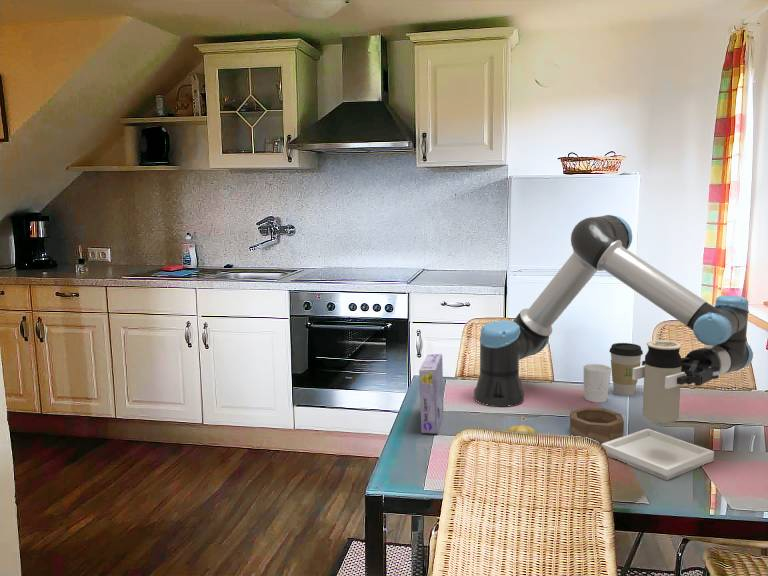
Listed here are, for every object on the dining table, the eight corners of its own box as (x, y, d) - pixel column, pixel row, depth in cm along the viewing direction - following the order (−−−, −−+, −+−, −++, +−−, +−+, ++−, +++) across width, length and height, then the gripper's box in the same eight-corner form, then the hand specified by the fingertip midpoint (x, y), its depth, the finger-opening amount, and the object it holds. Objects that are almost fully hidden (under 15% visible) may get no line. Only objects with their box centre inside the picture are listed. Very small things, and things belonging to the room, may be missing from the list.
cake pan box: (427, 410, 196) (427, 351, 193) (444, 411, 195) (445, 352, 192) (418, 434, 178) (418, 370, 175) (437, 435, 177) (437, 370, 174)
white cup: (580, 394, 208) (581, 363, 207) (606, 395, 207) (608, 364, 206) (584, 402, 201) (585, 370, 199) (611, 403, 200) (613, 371, 198)
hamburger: (504, 473, 153) (504, 423, 151) (503, 460, 160) (504, 412, 158) (538, 475, 152) (539, 425, 150) (536, 462, 159) (538, 414, 157)
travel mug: (686, 421, 157) (690, 346, 154) (657, 425, 154) (661, 349, 152) (663, 410, 164) (666, 338, 161) (635, 414, 162) (638, 341, 159)
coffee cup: (643, 398, 204) (645, 350, 202) (609, 396, 206) (611, 349, 204) (638, 388, 213) (640, 342, 211) (605, 387, 215) (607, 341, 213)
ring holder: (559, 432, 178) (560, 414, 177) (592, 422, 185) (593, 404, 184) (599, 447, 167) (600, 428, 166) (632, 436, 174) (633, 418, 173)
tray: (600, 453, 164) (601, 443, 163) (647, 437, 173) (647, 428, 173) (666, 480, 149) (667, 469, 148) (713, 461, 158) (714, 451, 158)
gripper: (747, 387, 159) (690, 405, 147) (668, 368, 176) (611, 383, 164) (749, 356, 158) (692, 372, 146) (670, 340, 175) (613, 353, 163)
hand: (649, 378), depth 155 cm, fingers closed on travel mug, 8 cm apart
